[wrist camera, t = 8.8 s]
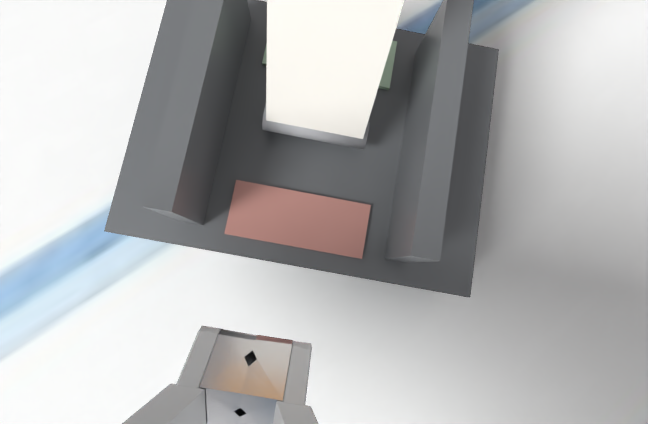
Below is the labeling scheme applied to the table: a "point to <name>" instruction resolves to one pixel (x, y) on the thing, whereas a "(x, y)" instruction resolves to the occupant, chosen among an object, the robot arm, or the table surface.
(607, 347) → the table surface
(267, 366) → the robot arm
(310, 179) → the grey switch base
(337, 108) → the breaker lever
